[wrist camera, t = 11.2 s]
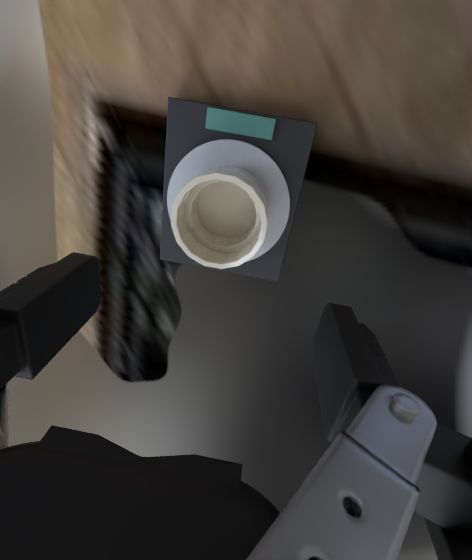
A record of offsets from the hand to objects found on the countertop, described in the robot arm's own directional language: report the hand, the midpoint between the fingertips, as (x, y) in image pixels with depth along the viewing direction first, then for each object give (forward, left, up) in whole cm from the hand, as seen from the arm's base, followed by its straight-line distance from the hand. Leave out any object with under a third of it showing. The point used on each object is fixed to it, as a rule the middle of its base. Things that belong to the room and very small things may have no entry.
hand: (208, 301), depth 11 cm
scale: (0, -1, -18) cm, 18 cm away
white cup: (0, -1, -15) cm, 15 cm away
